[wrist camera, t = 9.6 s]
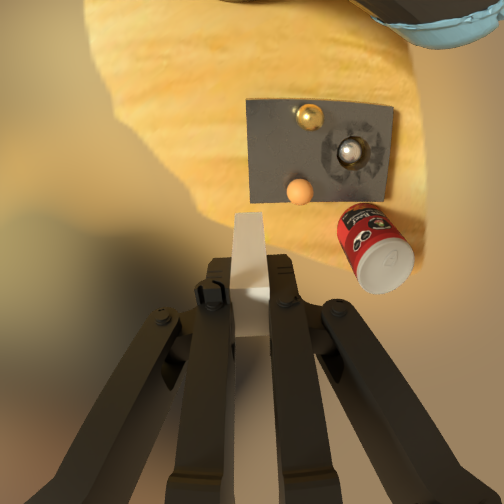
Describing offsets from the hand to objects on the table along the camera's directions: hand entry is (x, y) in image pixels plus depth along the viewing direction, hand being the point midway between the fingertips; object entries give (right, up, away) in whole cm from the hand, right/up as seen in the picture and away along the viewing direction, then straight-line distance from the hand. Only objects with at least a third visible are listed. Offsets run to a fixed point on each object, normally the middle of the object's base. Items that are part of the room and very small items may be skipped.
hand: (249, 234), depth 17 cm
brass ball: (+6, +14, +13) cm, 20 cm away
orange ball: (+6, +6, +18) cm, 20 cm away
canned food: (+16, +3, +25) cm, 30 cm away
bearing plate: (+9, +12, +19) cm, 24 cm away
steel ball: (+12, +12, +17) cm, 24 cm away
